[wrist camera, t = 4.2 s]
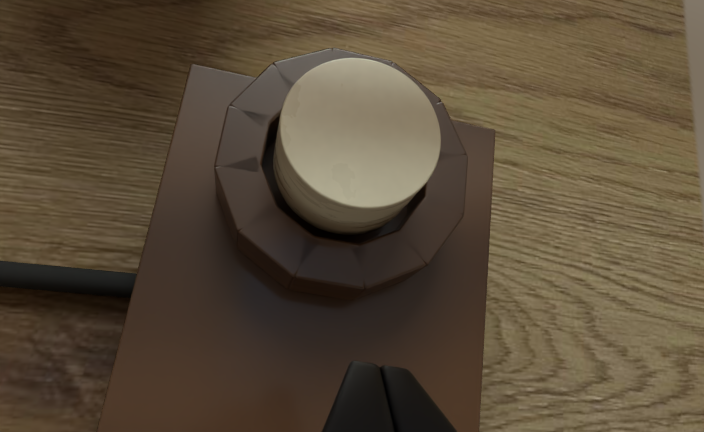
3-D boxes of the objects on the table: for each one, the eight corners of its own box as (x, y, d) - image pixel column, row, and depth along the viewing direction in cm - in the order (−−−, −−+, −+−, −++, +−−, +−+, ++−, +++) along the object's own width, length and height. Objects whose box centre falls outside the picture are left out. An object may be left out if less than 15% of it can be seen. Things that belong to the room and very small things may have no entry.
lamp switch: (406, 247, 16) (434, 222, 14) (260, 220, 15) (265, 190, 13) (419, 118, 17) (447, 76, 15) (286, 88, 16) (294, 41, 14)
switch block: (425, 505, 19) (504, 550, 14) (114, 469, 18) (59, 502, 12) (452, 164, 23) (522, 90, 18) (200, 112, 22) (189, 13, 16)
